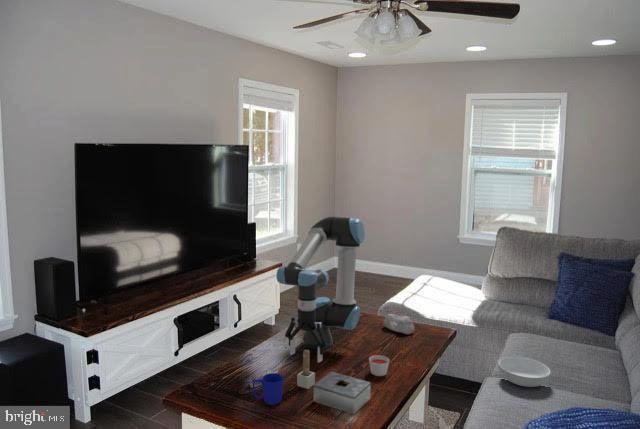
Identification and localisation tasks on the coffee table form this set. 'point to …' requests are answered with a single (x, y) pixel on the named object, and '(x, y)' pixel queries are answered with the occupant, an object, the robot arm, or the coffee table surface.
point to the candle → (379, 365)
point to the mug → (270, 388)
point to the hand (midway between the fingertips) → (306, 357)
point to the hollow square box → (306, 380)
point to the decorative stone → (399, 323)
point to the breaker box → (342, 392)
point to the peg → (306, 362)
